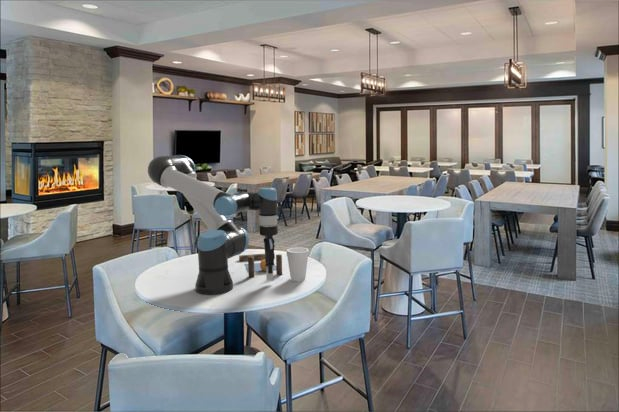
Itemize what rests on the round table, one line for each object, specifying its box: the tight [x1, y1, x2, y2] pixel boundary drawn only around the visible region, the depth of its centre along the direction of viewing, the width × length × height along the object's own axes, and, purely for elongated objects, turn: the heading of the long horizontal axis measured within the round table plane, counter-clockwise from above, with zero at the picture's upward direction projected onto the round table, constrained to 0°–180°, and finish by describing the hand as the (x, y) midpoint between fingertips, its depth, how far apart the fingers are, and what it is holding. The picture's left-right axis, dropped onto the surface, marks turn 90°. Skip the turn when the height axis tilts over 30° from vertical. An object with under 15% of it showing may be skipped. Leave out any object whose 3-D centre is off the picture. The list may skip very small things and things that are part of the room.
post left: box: [247, 256, 255, 279], centre depth 199 cm, size 3×3×9 cm
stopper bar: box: [238, 253, 276, 262], centre depth 229 cm, size 18×2×2 cm, turn 104°
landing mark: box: [244, 262, 276, 273], centre depth 215 cm, size 14×14×1 cm
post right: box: [275, 253, 283, 276], centre depth 202 cm, size 3×3×9 cm
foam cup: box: [286, 247, 310, 282], centre depth 195 cm, size 10×9×13 cm
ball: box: [259, 259, 266, 272], centre depth 209 cm, size 6×6×6 cm
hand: (270, 280), depth 189 cm, fingers closed
